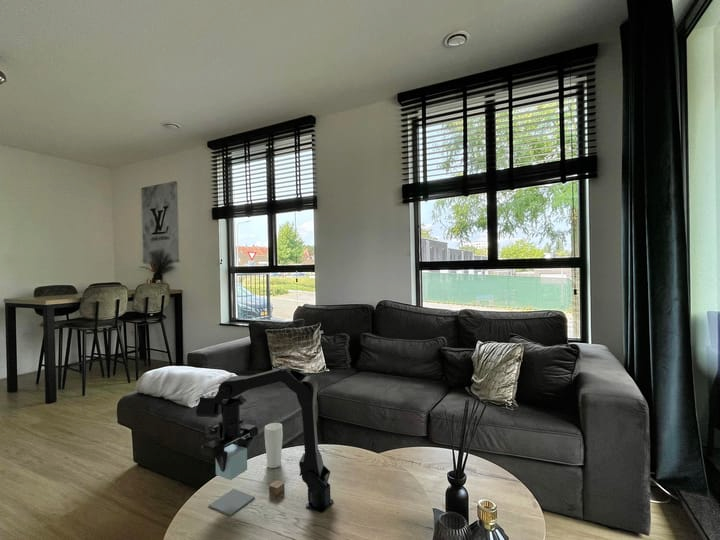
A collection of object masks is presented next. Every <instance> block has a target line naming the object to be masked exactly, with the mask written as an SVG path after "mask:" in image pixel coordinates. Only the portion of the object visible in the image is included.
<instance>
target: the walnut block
mask: <svg viewBox="0 0 720 540" xmlns="http://www.w3.org/2000/svg"><path fill="white" fill-rule="evenodd" d="M268 490H269V491H268V494H269V497H270V498H271V497H272V498H275V499H277V500H278V499H280V498H281V496H283V495H284V494H285V482H284V481H280V480H277V479H276V480H275V481H273V482H272V483H270V484H269V485H268Z"/></svg>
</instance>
